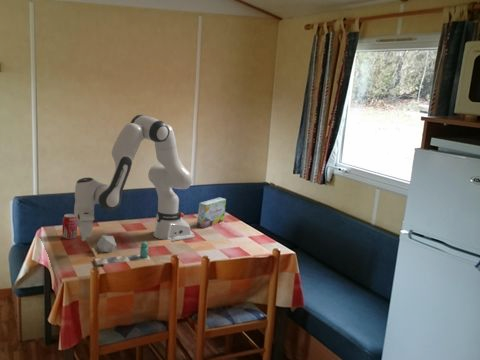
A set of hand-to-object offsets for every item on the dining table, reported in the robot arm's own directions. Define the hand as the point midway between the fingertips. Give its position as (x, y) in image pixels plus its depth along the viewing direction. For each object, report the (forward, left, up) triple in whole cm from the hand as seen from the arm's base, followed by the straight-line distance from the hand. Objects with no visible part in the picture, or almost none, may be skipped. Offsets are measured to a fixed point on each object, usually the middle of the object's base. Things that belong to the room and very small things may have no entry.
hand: (83, 239), depth 224 cm
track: (-16, +13, -7) cm, 22 cm away
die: (-11, 0, -8) cm, 14 cm away
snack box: (-80, -30, -8) cm, 86 cm away
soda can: (+3, -24, -8) cm, 26 cm away
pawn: (-26, +13, -6) cm, 30 cm away
